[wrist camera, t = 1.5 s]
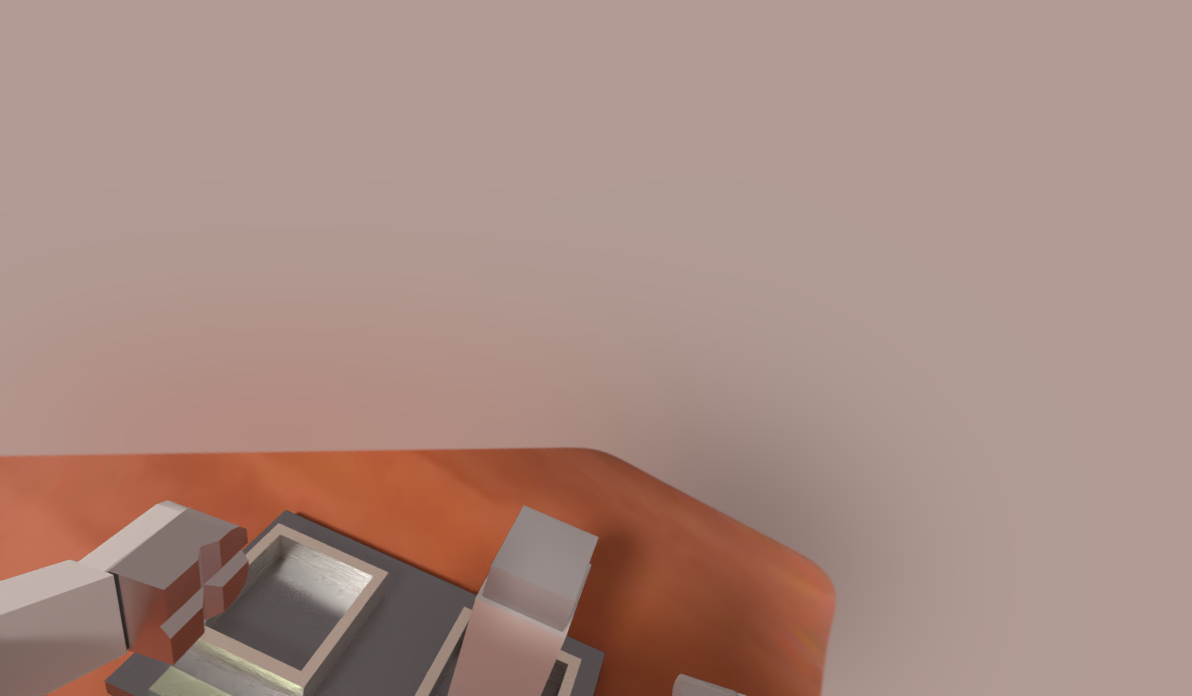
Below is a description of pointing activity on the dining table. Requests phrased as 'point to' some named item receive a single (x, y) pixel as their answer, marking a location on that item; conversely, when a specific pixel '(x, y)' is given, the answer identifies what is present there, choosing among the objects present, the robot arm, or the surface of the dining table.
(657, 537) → the dining table surface
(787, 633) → the dining table surface
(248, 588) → the panel
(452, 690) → the plug
